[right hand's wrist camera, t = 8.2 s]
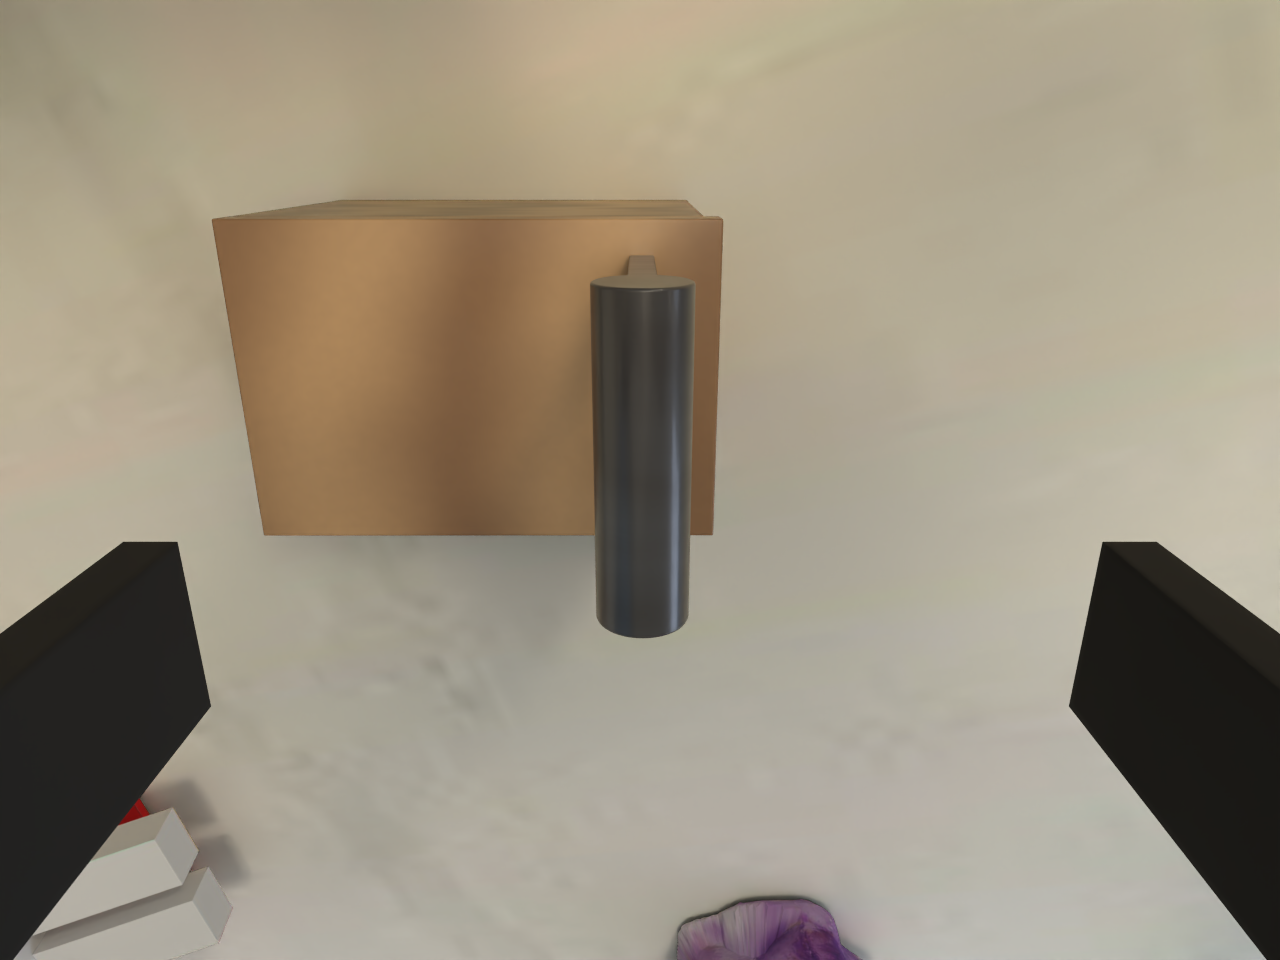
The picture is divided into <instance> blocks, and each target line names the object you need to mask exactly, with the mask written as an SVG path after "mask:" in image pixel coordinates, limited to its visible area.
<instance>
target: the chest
mask: <svg viewBox="0 0 1280 960" xmlns="http://www.w3.org/2000/svg"><path fill="white" fill-rule="evenodd" d="M238 216H703V215H702V214H701V213H700V212H698V211H697V210H696V209H695V208H694V207H693V206H692V205H691V204H690V203H689V202H688V201H687V200H338V201H332V202H326V203H319V204H312V205H305V206H299V207H292V208H285V209H278V210H271V211H265V212H258V213H251V214H244V215H238Z"/></svg>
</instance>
